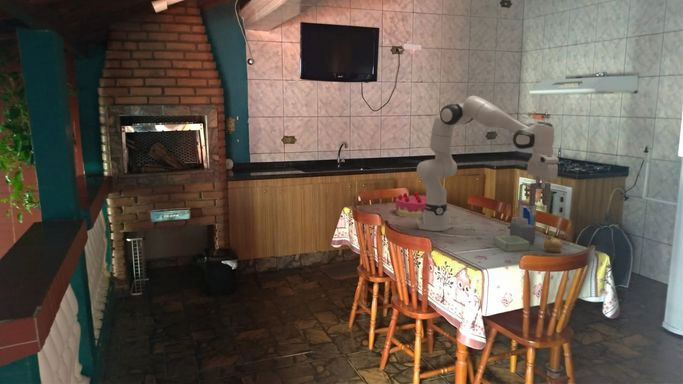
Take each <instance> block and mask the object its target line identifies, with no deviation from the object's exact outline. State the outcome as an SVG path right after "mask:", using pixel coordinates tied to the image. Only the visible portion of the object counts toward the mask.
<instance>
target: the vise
mask: <svg viewBox="0 0 683 384" xmlns="http://www.w3.org/2000/svg"><path fill="white" fill-rule="evenodd" d="M507 229H509V236H519V237H521V238H522V239H524V240H526V241H528V242H530V246H532V245H535V243H536V241H535V239H536V226H535V227H534V226H532V225H530V224H528V219H524V218H523V219H517V216H516V217H511V221H510V223H509V226H507Z"/></svg>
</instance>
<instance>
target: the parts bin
mask: <svg viewBox="0 0 683 384" xmlns="http://www.w3.org/2000/svg"><path fill="white" fill-rule="evenodd" d="M493 246H495V247H497V248H499V249H501V250H502V251H504V252H506V253H507V252H508V253H510V252H512V253H513V252H524V251H526V252H527V251H530V250H531V245H530V242H528V241H526V240H524V239H522V238H521V237H519V236H510V235H502V236H493Z"/></svg>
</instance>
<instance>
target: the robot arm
mask: <svg viewBox="0 0 683 384" xmlns="http://www.w3.org/2000/svg"><path fill="white" fill-rule="evenodd" d="M473 120H474V121H475V122H477V123H479V124H481V125H482V126H484V127H488V128H497V129H504V130H507V131H509V132H511V133H513V136H512V142H513V145H514V146H515V147H516V149H520V150H530V149H532V152H531V153H532V154H531V156H530V158H529V160H528V162H527V167H526V168H527V169H526V173H527V175H529V176H531V177H532V176H533V177H534V180H535V183H540V187H542V188H544V187H545V184H546V183H548V182H547V181H556V179H557V178H558V173H559V172H558V171H559V170H558V169H559V166H558V164H559V162H560V159H559V157H557V156H556V155H555V154H554V147H553V145H554V143H555V142H554V141H555V129H554V125H553V124H552V123H549V122H545V121H537V122H535V123H534V124H532V125H530V126H529V125H527V124H526V123H523V122H522V121H520V120H518V119H516V118H514V117H513V116H511V115H510V114H508V113H506V112H505V111H503V110H502V109H500V108H499V107H497V106H496V105H495V104H493V103H491V102H490V101H488V100H486V99H484V98H482V97H480V96H477V95H471V96H470V95H469V96H468V97H467V98H466V99H465V101H464V103H463V102H457V103H454V104H453V103H450V104H449V103H448V104H447V105H445V106H444V107H442V108H441V110H440V112H439V114H438V115H436V116H435V118H434V120H433V121H434V122H433V124H432V128H431V134H430V135H431V136H430V144H429V148H430V150H431V151H432V152H433V153H434V159H426V160H423V161H421V162H419V163H418V164H417V167H416V174H417V176H418V178H419V179H420V180H422V182H423V184H424V187H425V194H426V195H425V196H426V204H425V210H424V211H423V213H422V214H421V216H419V218H418V220H419V221H416V224H417V225H416V226H417V227H418V230H425V231H432V232H442V231H443V232H444V231H447V230H449V229H452V228H453V225H451V224H450V213H449V212H448V211H447V210H448V204H447V194H448V193H447V189H446V188H445V187H444V186H443V185H442V183H441V179H448V178H450V177H453V176H455V175H456V174H457V171H458V165H457V161H455V160H454V159H453V156H452V150H451V149H452V148H451V147H452V140H453V131H454V128H455V126H459V125H460V126H461V125H465V124H469V123H471V122H472V121H473Z"/></svg>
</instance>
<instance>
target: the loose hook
mask: <svg viewBox="0 0 683 384" xmlns="http://www.w3.org/2000/svg"><path fill="white" fill-rule="evenodd" d="M540 183H541V182H540ZM540 183H536V182H533V183H532V182H531V183H530V187H529V200H528V202H529V205H530V206H535V204H536V196H537V190H543V206H550V197H551V184H552V183H551V182H546V184H545V187H544V188H542V187H540Z"/></svg>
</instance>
